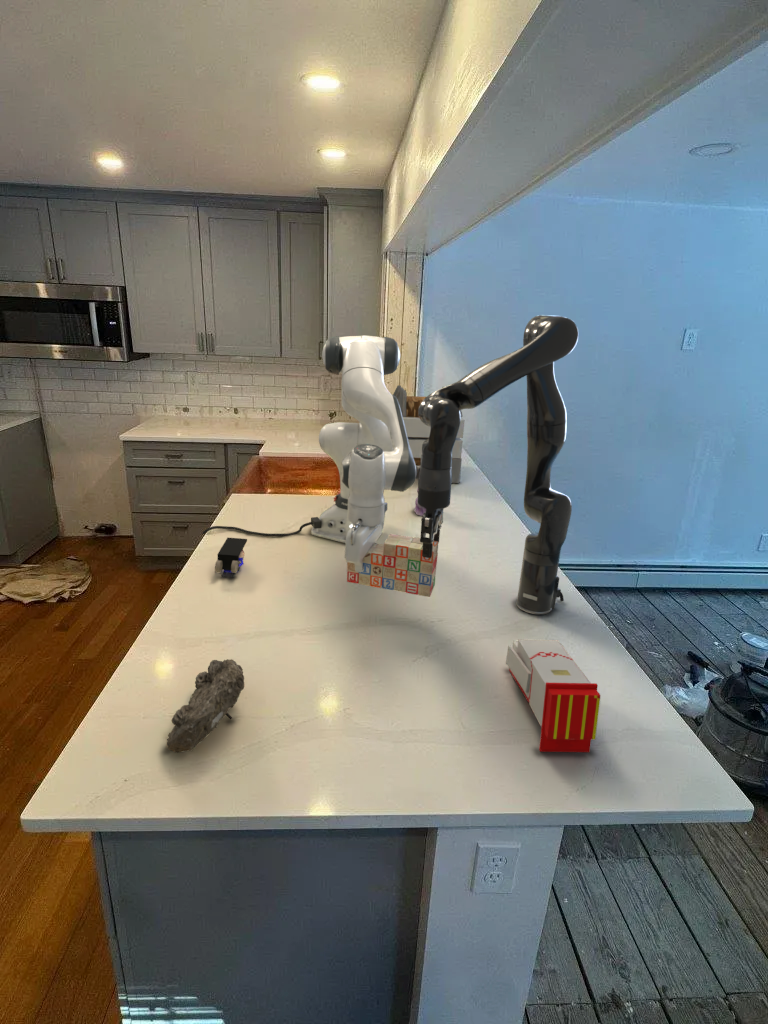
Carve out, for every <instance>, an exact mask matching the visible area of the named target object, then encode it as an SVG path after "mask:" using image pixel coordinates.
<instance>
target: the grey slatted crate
mask: <svg viewBox="0 0 768 1024" xmlns="http://www.w3.org/2000/svg"><path fill="white" fill-rule="evenodd" d="M444 387H445V386H442V387H441V388H444ZM407 394H408V393H407V390H406V389H404V388H403V387H402V385H399V384H398V385H397V386H396V388H395V390H394V392H393V394H392V395H394V396H395V397H396V398H397V400H398V402H399V405H400V409H401V412H402V416H403V420H404V424H405V429H406V433H407V437H408V442H409V446H410V449H411V452H412V455H413V458H414V462H415V465H416V467H417V466H418V467H420V463H421V448H422V444H423V442H424V441H425V440H427V439H429V435H430V429H431V427H429V426H427V425H425V424H424V423H423V422H422V421H421V420H420V418H419V416H418V409H419V406H420V404H421V402H422V401H423V400H424V399H425V398H426V397H427V396H415V395H414V396H413V395H412V396H411V395H407ZM460 415H461V421H460V427H459V431H458V434H457V437H456V441H455V443H454V446H453V449H452V466H451V471H452V483H451V484H455V483H456V484H459V483H461V472H462V461H463V460H462V453H463V442H464V441H463V440H462V439H463V438H464V431H465V430H464V429H465V419H464V418H463V411H462V410H460Z"/></svg>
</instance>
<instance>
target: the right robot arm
mask: <svg viewBox="0 0 768 1024" xmlns="http://www.w3.org/2000/svg"><path fill="white" fill-rule="evenodd" d="M578 341H579V328H578V325H577V324H576V323H575V321H574V320H572V319H571V318H568V317H566V316H563V315H549V314H539V315H535V316H533V317H532V318H531V319H530V320H529V321H528V322H527V323H526V326H525V328H524V332H523V339H522V344H523V345H522V346H521V347H520V348H518V349H516V350H514V351H511V352H509V353H507V354H504V355H502V356H499V357H497V358H495V359H492V360H490V361H488V362H485V363H483V364H482V365H480V366H478V367H477V368H475V369H473V370H472V371H470V372H469V373H468V374H466V375H465V376H463V377H461V379H459V380H457V381H456V382H452V383H450V384H448V385H446V386H443V387H444V388H442V387H441V388H439V389H437V390H435V391H433V392H431V393H429V394H428V395H427V396H425V397H426V398H425V399H424V400H423V401H422V402H421V404H420V406H419V409H418V416H419V418H420V420H421V421H422V422H423V423H424V424H425V425H427V426H429V427H431V429H430V435H429V439H427V440H425V441H424V442H423V444H422V448H421V463H420V466H419V471H418V485H417V488H418V493H417V497H418V501H417V502H418V504H419V505H420V506H421V507H424V508H425V509H426V512H425V513H424V514H423V516H421V522H420V524H421V525H420V536H419V538H420V542H421V543H423V548H422V556H423V557H426V558H431V557H432V548H433V542H434V541H438V544H439V543H440V538H441V537H440V536H441V534H440V533H441V529H442V525H443V523H444V509H446V508H449V506H450V504H451V494H452V484H453V483H452V471H451V466H452V449H453V446H454V443H455V441H456V437H457V434H458V431H459V427H460V421H461V418H462V417H461V415H460V410H461V411H462V410H472V409H475V408H477V407H479V406H480V405H482V404H484V402H486V401H488V400H489V399H491V398H492V397H493V396H495V395H496V394H498V393H499V392H500V391H502V390H503V389H505V388H507V387H509V386H510V385H513V383H515V382H517V381H519V380H521V379H522V378H524V377H526V406H527V407H526V440H527V441H526V442H527V443H526V444H527V446H526V447H527V448H526V451H527V452H526V475H525V484H524V493H523V494H524V495H523V510H524V512H525V515H526V516H527V517H528V518H529V519H531V520H532V521H535V522H537V523H538V524H540V525H539V530H538V531H537V532H531V533H529V534H527V536H526V537H525V540H524V548H523V555H522V561H521V562H522V563H521V568H520V569H521V570H520V577H519V583H518V591H517V598H516V601H515V603H516V606H517V608H518V609H519V610H521V611H523V612H525V613H527V614H529V615H530V614H531V615H538V616H542V615H547V614H549V613H551V612H552V610H555V608H556V603H557V599H559V600H560V602H564V601H565V600H564V594H563V592H562V590H561V588H559V583H560V577H559V576H558V570H559V564H560V559H561V552H562V547H563V545H564V543H565V541H566V538H567V535H568V531H569V526H570V522H571V517H572V511H573V505H572V501H571V498H570V497H569V496H568V495H566V494H564V493H563V492H560V491H558V490H555V489H552V485H551V478H552V477H551V474H552V467H553V464H554V463H555V460H556V459H557V457H558V456H559V454H560V453H561V451H562V449H563V448H564V445H565V442H566V439H567V424H568V423H567V422H568V421H567V420H568V419H567V417H568V416H567V408H566V406H565V402H564V399H563V396H562V394H561V392H560V390H559V387H558V384H557V381H556V377H555V362H557V361H559V360H561V359H563V358H564V357H566V356H568V355H569V354H571V353H572V351H573V350H574V349H575V348H576V346H577V343H578ZM427 534H428V536H427V537H426V535H427Z"/></svg>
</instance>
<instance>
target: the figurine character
mask: <svg viewBox="0 0 768 1024" xmlns="http://www.w3.org/2000/svg"><path fill="white" fill-rule="evenodd" d="M247 542H248V538H240V537H226V539H225V541H224V543H223V544H222V546H221V547H220V549H219V551H218V552H217V560H216V562H215V564H214V572H215V573H221V577H222V578H224V577H225V576H226V574H227V573H230V574H231V573H232V574H231V578H234V577H235V575H236V573H237V572H239V571H240V567H242V566H243V565H244V564H245V562H244V558H245V551H244V547H245V546H246V544H247Z"/></svg>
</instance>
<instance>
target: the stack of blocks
mask: <svg viewBox="0 0 768 1024" xmlns="http://www.w3.org/2000/svg"><path fill="white" fill-rule="evenodd" d="M422 548H423V543H421V542H420V537H417V536H414V537H413V536H408V535H407V536H406V535H401V534H392V533H389V535H388V536H387V538H386V540H385V541H384V542H383V543H379V542H375V543H374V544H373V546H372V547H371V548H370V550H369V551H368V552H367V554H366V555H365V557H364V558H363V560H362V561H363V564H364V569H363V571H362V572H356V571H355V564H354V563H349V562H346V563H347V564H346V582H347V583H352V584H357V585H358V584H359V585H362V586H368V587H373V588H377V589H384V590H389V591H395V592H400V593H405V594H411V595H416V596H422V597H427V598H430V597H431V596H432V593H433V591H434V588H435V585H436V574H437V564H438V554H439V553H438V551H439V543H438V541H434V542H433V548H432V557H431V558H426V557H423V556H422Z"/></svg>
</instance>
